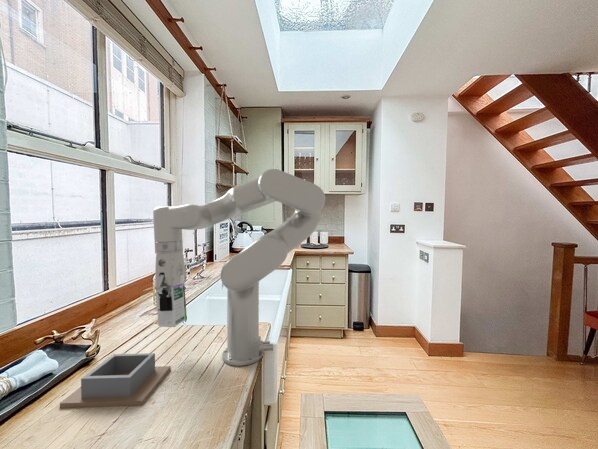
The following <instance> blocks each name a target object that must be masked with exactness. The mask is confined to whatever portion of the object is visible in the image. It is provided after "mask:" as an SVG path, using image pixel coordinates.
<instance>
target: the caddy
mask: <svg viewBox="0 0 598 449" xmlns="http://www.w3.org/2000/svg"><path fill="white" fill-rule="evenodd" d="M171 368H172V367H171V365H168V366H167V365H165V366H164V365H163V366H156V353H155V352H152V353H114V354H112V355H111V356H110V357H108V358H106V360H104V361H103V362H101V363H100V364H99V365H97V366H96V367H95V368H93V369H92V370H91V371H90V372H88V373H86V374H85V375H84V376H83V377H82V378H81V379H80V387H78V388H77V389H76V390H75V391H73V392H72V393H71V394H70V395H68V396H67V397H66V398H64V399H63V400H62V401H60V402H59V408H60V409H61V408H62V409H65V408H66V409H67V408H94V407H95V408H96V407H98V408H99V407H129V406H131V407H132V406H133V407H134V406H143V404H144V403H145V402H146V401H147V400H148V399H149V397H150V396H151V395H152V393H154V391H155V390H156V389H157V388H158V386H159V385H160V384H161V382H163V380H164V378H165V377H166V376H167V375H168V374H169V373H170V371H171Z"/></svg>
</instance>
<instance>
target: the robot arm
mask: <svg viewBox="0 0 598 449" xmlns="http://www.w3.org/2000/svg"><path fill="white" fill-rule="evenodd" d="M275 202H278V203H281V204H282V205H285V206H288V207H290V208H293V209H294V213H293V214H292V215H291V216H290V217H289V218H287V219H286V220H285V221H283V222H282V223H281V224H279V225H278V226H277V227H275V228H274V229H272V230H271V231H269V232H267V233H265V234H264V235H262V236H260V237H259V238H258V239H256V240H255V241H253V242H252V243H251V244H250V245H248V246H246V247H245V248H244V249H242V250H241V251H240V252H238V253H235V254H234V255H233V256H231V258H229V259H228V260H227V261H226V262H225V263H224V264H223V266H222V267H221V271H220V280H221V283H222V285H223V287H225V289H227V292H226V295H227V296H226V308H227V309H226V313H227V314H226V315H227V316H226V323H227V324H226V326H227V327H226V328H227V330H226V331H227V335H226V338H227V343H226V345H227V347H226V348H225V349H223V352H222V354H221V355H222V356H221V357H222V362H224V363H226V364H227V365H231V366H235V367H236V366H237V367H238V366H239V367H240V366H241V367H243V366H249V365H251V364H254V363H257V362H258V361H260V360H261V359H262V358H263V357H264V354H265V351H266V352H267V351H269V352H272V351H274V343H271V341H269V340H266V341H263V340H262V339H261V338H262V337H261V336H260V334H259V333H260V328H259V327H260V326H259V324H260V322H259V318H260V315H259V313H260V312H259V311H260V309H259V308H260V307H259V306H260V302H259V301H260V296H259V295H260V293H259V290H260V289H259V288H260V284H259V283H260V281H262V279H264V278H266V277H268V275H270V274H271V273H273V272H275V271H276V270H277V269H278V268H279V267H280V266H281V265H282V264H284V262H285V261H286V259H287V257H288V254H289V253H291V252H292V251H293V250H295V249H296V248H297V247H299V245H301V244H302V243H303V242H304V241H305V240H307V239H308V238H309V237H311V235H312V234H313V233H314V232H315V231H316V228H317V227H318V224H319V221H320V217H321V210H322V209H323V208H324V206H325V204H326V194H325V192H324V190H323V189H322V188H321V187H320V186H318V185H317V184H315V183H313V182H310V181H308V180H305V179H303V178H300V177H298V176H295V175H293V174H290V173H289V172H286V171H283V170H280V169H278V168H277V169H276V168H269V169H266V170H265V171H263V172H262V173H261V174H260V176H259V177H258V178H255V179H253V180H250V181H247V182H244V183H242V184H239V185H235V186H233V187H231V188H230V189H228V191H227V192H226V193H225V194H224V195H223V196H221V197H219V198H217V199H215V200H213V201H210V202H207V203H204V204H201V205H198V204H193V203H192V204H183V205H177V206H176V205H175V206H174V205H171V206H170V205H165V206H156V207H155V208H154V209H153V211H152V212H153V213H152V214H153V215H152V216H153V235H154V236H153V237H154V254H156V255H155V272H154V273H155V279H156V284H155V288H154V289H155V292H156V291H157V293H158V297H159V300H160V311H171V310H172V297H171V296H170V292H171V287H175V286H177V285H178V284H179V283H180V281H181V275H182V274H184V281H185V280H186V277H187V276H186V266H185V265H186V263H185V258H184V253H183V251H184V246H183V230H185V231H186V230H188V231H193V230H203V229H206V228H209V227H212V226H215V225H217V224H220V223H223V222H225V221H228V220H229V219H232V218H234V217H238V216H241V215H243V214H246V213H249V212H250V211H254V210H256V209H259V208H261V207H264V206H266V205H269V204H272V203H275ZM165 284H167V285H168V286H163V285H165ZM170 286H171V287H170ZM165 289H167V292H166V290H165Z"/></svg>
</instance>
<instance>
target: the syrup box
mask: <svg viewBox="0 0 598 449" xmlns="http://www.w3.org/2000/svg"><path fill="white" fill-rule="evenodd" d="M155 285H156V278H155ZM163 286H168V285H167V284H165V285H163ZM170 287H171V286H170ZM165 290H166V292H167V289H165ZM170 296H171V297H172V310H171V311H160V300H159V297H158V293H157V291H156V290H155V298H156V310H157V326H158V327H161V328H163V327H164V328H176V327H177V326H178V325H180V324H182V323H183V322H185V321H187V319H188V316H187V304H186V301H187V300H186V286H185V280H184V274H182V275H181V281H180V283H179V284H178V285H177V286H175V287H171V292H170Z"/></svg>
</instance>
